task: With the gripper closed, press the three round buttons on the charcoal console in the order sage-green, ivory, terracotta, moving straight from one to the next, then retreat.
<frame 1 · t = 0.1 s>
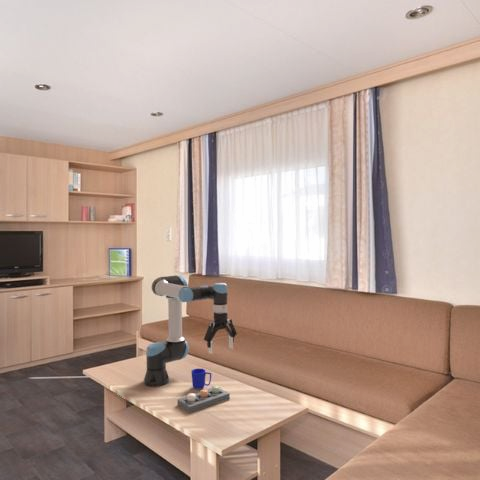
hand: (220, 350, 212), 28 cm above the table, fingers open, 13 cm apart
button terracotta: (203, 393, 212), point 5 cm above the table, slide at 0.0 cm
button ivory: (191, 397, 207), point 5 cm above the table, slide at 0.0 cm
button sage: (215, 389, 217), point 5 cm above the table, slide at 0.0 cm
mug: (201, 388, 231), on the table
console: (204, 401, 212), on the table
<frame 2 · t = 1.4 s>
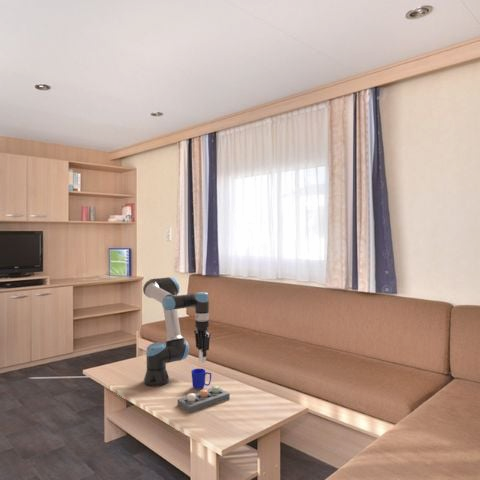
hand: (202, 361, 220), 19 cm above the table, fingers closed
nothing on the table moved.
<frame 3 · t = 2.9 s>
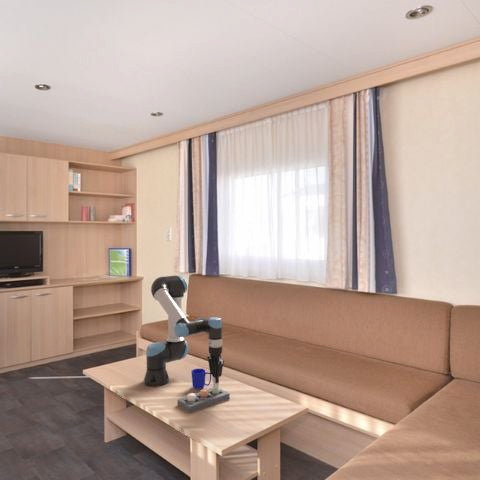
hand: (215, 388, 217), 6 cm above the table, fingers closed
button sage: (215, 391, 217), point 4 cm above the table, slide at 0.8 cm, touching gripper
everything else where it was.
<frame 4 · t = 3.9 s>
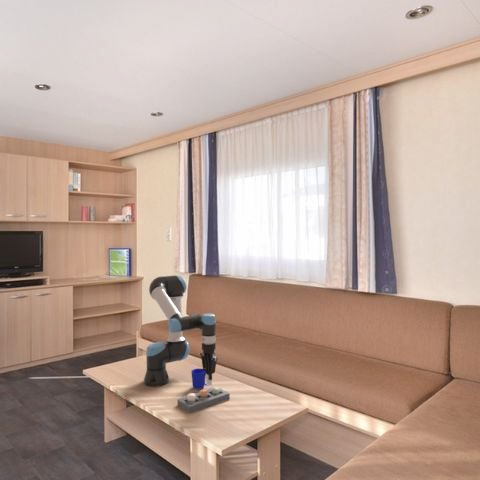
hand: (208, 385, 214), 8 cm above the table, fingers closed
button sage: (215, 391, 217), point 4 cm above the table, slide at 0.8 cm
everything else where it was.
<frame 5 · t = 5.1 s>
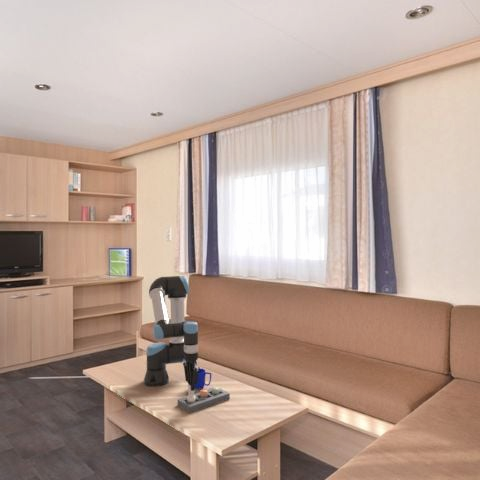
hand: (191, 395, 207), 5 cm above the table, fingers closed
button ivory: (191, 399, 207), point 4 cm above the table, slide at 0.8 cm, touching gripper
everything else where it was.
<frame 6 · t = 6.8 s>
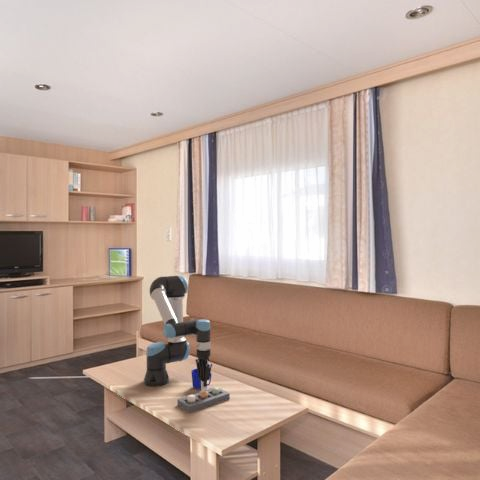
hand: (203, 391, 212), 6 cm above the table, fingers closed
button terracotta: (203, 395, 212), point 4 cm above the table, slide at 0.7 cm, touching gripper
button ivory: (191, 399, 207), point 4 cm above the table, slide at 0.8 cm
everything else where it was.
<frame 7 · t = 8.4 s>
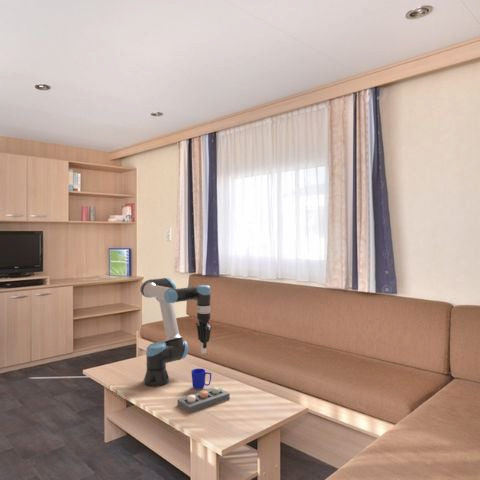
hand: (203, 353, 224), 23 cm above the table, fingers closed
button terracotta: (203, 395, 212), point 4 cm above the table, slide at 0.8 cm
everything else where it was.
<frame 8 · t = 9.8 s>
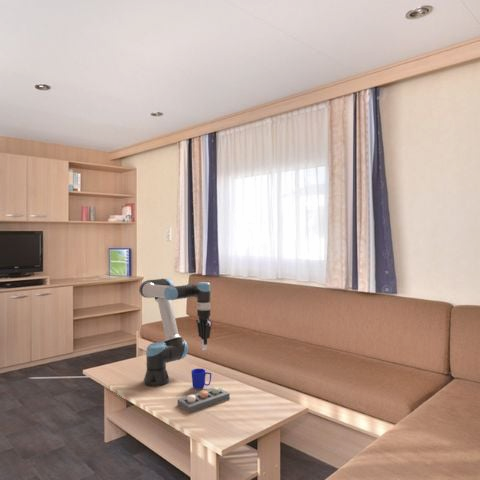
hand: (204, 349, 225), 24 cm above the table, fingers closed
nothing on the table moved.
at the end: button sage slide at 0.8 cm; button ivory slide at 0.8 cm; button terracotta slide at 0.8 cm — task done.
